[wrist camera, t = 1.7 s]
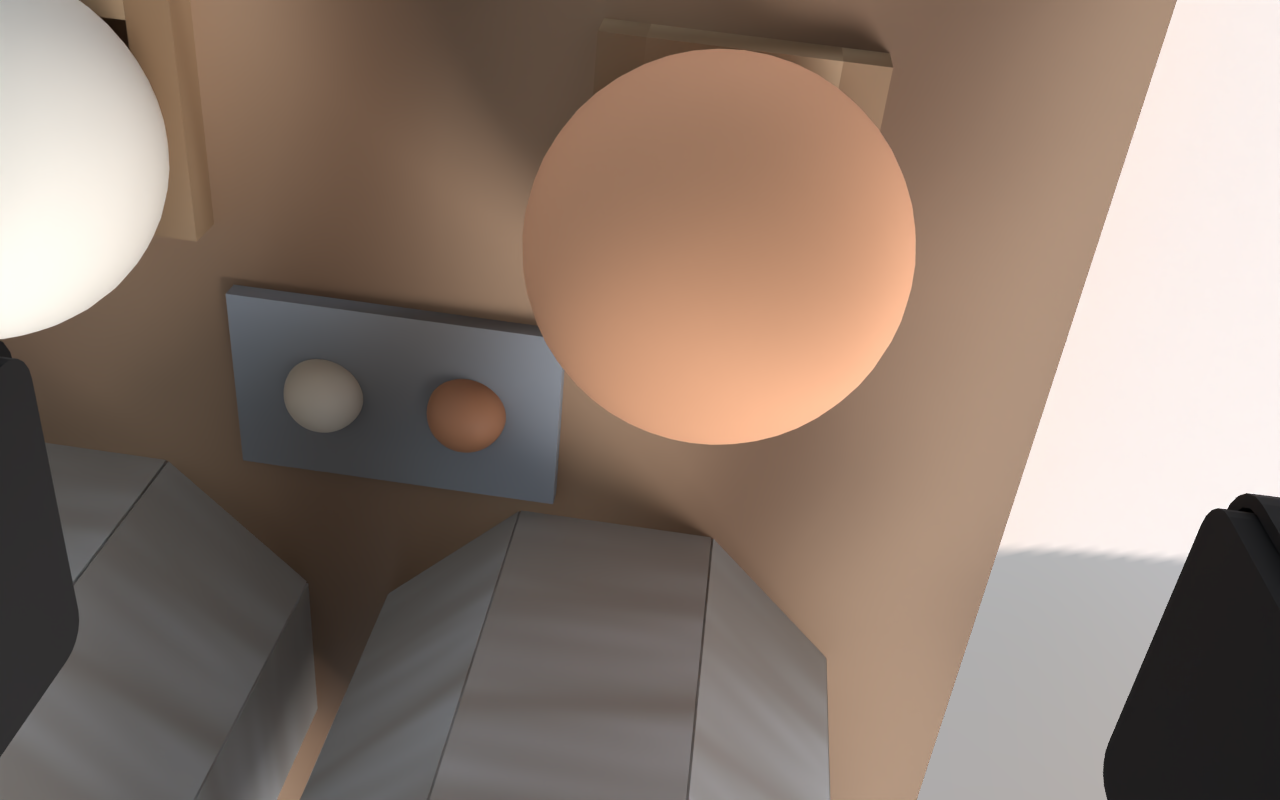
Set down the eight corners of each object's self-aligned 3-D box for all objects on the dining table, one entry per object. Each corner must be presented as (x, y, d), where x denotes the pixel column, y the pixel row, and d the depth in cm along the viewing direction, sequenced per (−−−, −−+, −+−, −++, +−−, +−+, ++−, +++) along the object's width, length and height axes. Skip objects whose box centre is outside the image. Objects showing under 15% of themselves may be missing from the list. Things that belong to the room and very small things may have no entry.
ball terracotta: (936, 26, 15) (983, 164, 11) (864, 348, 17) (883, 550, 13) (567, -19, 15) (488, 100, 11) (549, 305, 17) (478, 493, 13)
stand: (1152, -91, 16) (1559, 224, 7) (878, 814, 25) (918, 1396, 17) (-320, -265, 17) (-1469, -160, 8) (-42, 675, 26) (-436, 1163, 18)
